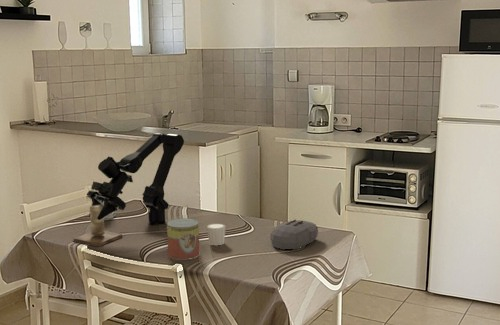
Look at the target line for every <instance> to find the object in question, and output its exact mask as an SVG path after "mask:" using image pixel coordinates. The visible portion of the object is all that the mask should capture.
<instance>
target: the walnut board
mask: <svg viewBox="0 0 500 325" xmlns="http://www.w3.org/2000/svg"><path fill="white" fill-rule="evenodd" d="M121 238H123V233H118V232H111V231H107V230H105V234H103V235H100V236H93V235H91V231H89V232H87V233H84V234H82V235H79V236H75V237H73V242H74V241H76V242H75V243H79V242H80V243H79V244H84V245H89V244H90V246H94V247H101V246H103V245H107V244H109V243H111V242H114V241H115V240H118V239H121Z"/></svg>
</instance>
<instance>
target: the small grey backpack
mask: <svg viewBox="0 0 500 325" xmlns="http://www.w3.org/2000/svg"><path fill="white" fill-rule="evenodd" d="M270 233H271V234H270V236H269V237H270V241H271V245H272V246H273V247H274V248H277V249H279V248H280V249H279V250H285V249H293V250H298V249H301V248H300V247H303V246H305V245H307V244H309V243H310V244H312V243H313V242H314V241H315V240H316V239H317V237H318V234H319V230H318V226H317V224H315V223H314V222H310V221H307V220H299V219H298V220H297V219H293V220H290V221H287V222H281V223H280V224H278V225H277V226H276V227H275V228H274V229H273V231H271V232H270ZM311 242H312V243H311ZM310 244H309V245H310ZM307 246H308V245H307ZM305 247H306V246H305ZM303 248H304V247H303Z"/></svg>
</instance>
